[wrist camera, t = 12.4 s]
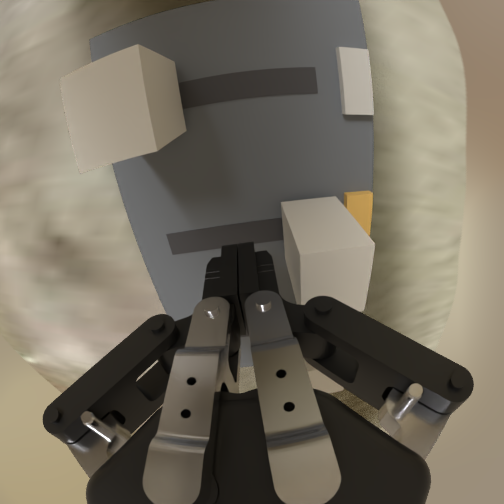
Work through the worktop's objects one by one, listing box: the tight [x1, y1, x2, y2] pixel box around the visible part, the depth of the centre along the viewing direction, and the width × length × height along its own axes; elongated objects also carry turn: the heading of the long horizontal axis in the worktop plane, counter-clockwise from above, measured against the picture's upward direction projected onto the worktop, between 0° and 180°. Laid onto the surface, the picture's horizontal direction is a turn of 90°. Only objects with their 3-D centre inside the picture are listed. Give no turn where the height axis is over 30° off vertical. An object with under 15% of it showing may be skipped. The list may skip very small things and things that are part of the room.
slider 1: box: [60, 44, 186, 174], centre depth 9 cm, size 4×3×5 cm
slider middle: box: [281, 196, 375, 312], centre depth 13 cm, size 4×3×5 cm
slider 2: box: [304, 359, 344, 394], centre depth 17 cm, size 4×3×5 cm
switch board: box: [90, 0, 374, 367], centre depth 16 cm, size 26×14×2 cm, turn 7°
